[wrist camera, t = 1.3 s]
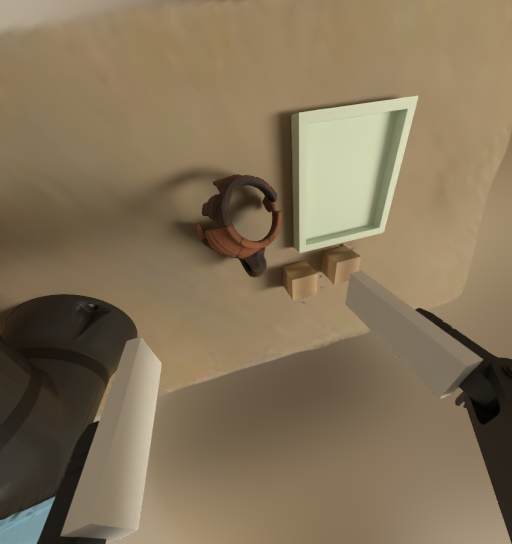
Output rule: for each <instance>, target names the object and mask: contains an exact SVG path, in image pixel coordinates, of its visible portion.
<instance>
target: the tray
mask: <svg viewBox="0 0 512 544" xmlns="http://www.w3.org/2000/svg"><path fill="white" fill-rule="evenodd" d="M417 100H418V96H412V97H405V98H398V99H391V100H384V101H377V102H370V103H363V104H356V105H349V106H342V107H335V108H328V109H320V110H313V111H306V112H299V113H296V114H293V115H291V131H292V178H293V225H294V248H295V249H296V250H297V251H298V252H299V253H302V252H306V251H310V250H314V249H318V248H322V247H326V246H331V245H335V244H339V243H343V242H347V241H351V240H355V239H359V238H363V237H367V236H371V235H375V234H379V233H383V232H384V229H385V225H386V222H387V218H388V214H389V210H390V206H391V202H392V198H393V194H394V190H395V186H396V182H397V178H398V174H399V171H400V167H401V163H402V159H403V155H404V151H405V147H406V143H407V139H408V135H409V131H410V127H411V124H412V120H413V116H414V112H415V108H416V104H417Z"/></svg>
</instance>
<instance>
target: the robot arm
mask: <svg viewBox="0 0 512 544" xmlns="http://www.w3.org/2000/svg"><path fill="white" fill-rule="evenodd" d="M89 304H96V305H97V308H96V307H91V306H89ZM346 305H347V306H348V307H349V308H350V309H351V310H352V311H353V312H354V313H355V314H356V315H357V316H358V317H359V318H360V319H361V320H362V321H363V322H364V323H365V324H366V325H367V326H368V328H369V329H370V330H371V331H372V332H373V333H374V334H375V335H376V336H377V337H378V338H379V339H380V340H381V341H382V342H383V343H384V344H385V345H386V346H387V347H388V348H389V349H390V350H391V351H392V352H393V353H394V354H395V355H396V356H397V357H398V358H399V359H400V360H401V361H402V362H403V363H404V364H405V365H406V366H407V367H408V368H409V369H410V370H411V371H412V372H413V373H414V374H415V375H416V376H417V377H418V378H419V379H420V381H422V383H424V385H425V386H426V387H427V388H428V389H429V390H430V391H431V392H432V393H433V394H434V395H435V396H436V397H437V398H438V399H440V398H443V397H445V396H447V395H450V394H452V393H453V392H454V391H455V390H456V389H457V388H458V387H460V388H461V389H462V390H463V392H462V393H461V394H460V395H459V396H458V397H457V399H456V401H455V402H456V405H457V406H459V405H460V404H461V403H462V402H465V404H464V408H467V410H468V414H469V417H470V420H471V423H472V426H473V429H474V432H475V435H476V438H477V441H478V444H479V447H480V450H481V453H482V456H483V459H484V462H485V465H486V468H487V471H488V474H489V477H490V479H491V483H492V486H493V488H494V492H495V495H496V498H497V501H498V504H499V507H500V510H501V513H502V516H503V519H504V522H505V525H506V528H507V531H508V534H509V537H510V540H511V543H512V359H508V358H498V357H496V356H494V355H492V354H491V353H489V352H488V351H486V350H485V349H483V348H482V347H480V346H479V345H477V344H476V343H474V342H473V341H471V340H470V339H469V338H467V337H466V336H464V335H463V334H461V333H460V332H459V331H457V330H456V329H453V328H452V327H451V326H450V325H448V324H447V323H444V322H443V320H441V319H440V318H438V317H437V316H435V315H434V314H432V313H430V312H428V311H426V310H423V309H421V308H418V309H415V310H414V309H413V308H412V307H410V306H409V305H408V304H406V303H405V302H403V301H402V300H401V299H399V298H398V297H397V296H395V295H394V294H392V293H391V292H390V291H388V290H387V289H386V288H384V287H383V286H381V285H380V284H379V283H377V282H376V281H375V280H373V279H372V278H370V277H369V276H368V275H366V274H365V273H364V272H362V271H361V270H360V271H357V272H353V273H350V278H349V285H348V291H347V298H346ZM161 366H162V364H161V362H160V361H159V360H158V358H157V357H156V356H155V354H154V353H153V352H152V350H151V349H150V348H149V346H148V345H147V344H146V342H145V341H144V340H143V338H142V337H138V338H137V329H136V326H135V324H134V323H133V321H132V320H131V318H130V317H129V316H128V315H127V314H125V313H124V312H123V311H122V310H120V309H118V308H117V307H115V306H113V305H111V304H109V303H107V302H104V301H101V300H98V299H95V298H91V297H86V296H80V295H68V294H61V295H49V296H44V297H39V298H36V299H33V300H30V301H28V302H26V303H24V304H22V305H20V306H19V307H17V308H16V309H15V310H14V311H13V312H12V313H11V315H10V316H9V318H8V319H7V321H6V325H5V328H4V330H3V332H2V334H1V336H0V544H105V543H106V540H117V539H120V538H122V537H124V536H127V535H129V534H131V533H133V532H136V531H138V527H139V521H140V514H141V507H142V499H143V493H144V486H145V479H146V471H147V464H148V457H149V450H150V443H151V436H152V428H153V422H154V414H155V408H156V401H157V394H158V387H159V380H160V373H161ZM116 370H117V371H116ZM115 371H116V374H115V377H114V380H113V383H112V386H111V389H110V392H109V395H108V397H107V400H106V403H105V406H104V409H103V412H102V415H101V418H100V421H97V422H95V423H93V422H94V419H95V416H96V414H97V411H98V408H99V406H100V403H101V400H102V398H103V395H104V392H105V390H106V387H107V384H108V382H109V379H110V377H111V376H112V375H113V374H114V372H115Z"/></svg>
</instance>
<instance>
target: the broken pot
mask: <svg viewBox="0 0 512 544" xmlns="http://www.w3.org/2000/svg"><path fill="white" fill-rule="evenodd" d="M213 184H214V185H215V186H217V188H218V190H219V191H220V194H218V195H214V196H212V197H211V198H210V199H209V201H208V202H206V203H204V204H203V208H202V215H203V216H209V218H211V219H212V220H214V221H215V222H216V223H218V224H219V225H220V226H221V227H219V228H216V229H208V230H206V232H205V236H206V238H207V239H206V238H205V236H204V234H203V232H202V229H201V226H200V224H199V223H196V224H195V229H196V232H197V234H198V235H199V237H200V239H201V240H202V242H203V243H204V244H205V245H206V246H208V247H209V248H211V249H212V250H214V251H215V252H217V253H219V254H221V255H223V256H226V257H230V258H238V259H239V260H240V261H241V264H242V265H243V267H244V269H245V271H246V272H247V273H248V274H249V276H251V277H259V276H261V275H262V274H263V273H264V272H265V270H266V260H265V258H264V251H265V247H266V246H268V245H269V244H270V243H271V242H272V241H273V240H274V239H275V238H276V236H277V235H278V233H279V231H280V227H281V223H282V212H281V211H276V208H275V204H274V202H276V200H277V194H276V192H275V191H274V189H273V188H272V187H271V186H270V185H269V184H268V183H267V182H265V181H264V180H263V179H260V178H258V177H254V176H249V175H247V176H246V175H244V176H242V175H233V176H230V177H227V178H223V179H219V180H217V181H214V182H213ZM244 185H250V186H253V187H256V188H258V189H259V190H260V191H262V192H263V193H264V195H265V197H264V199H263V204H264V206H265V208H266V210H267V211H268V212H272V226H271V229H270V231H269V233H268V235H267V236H266V237H264V239H262V240H260V241H249V240H247V239H245V238H243V237H242V236H241V235H240V234H238V232H237V231H236V230H235V228H234V227H233V225H232V224H231V220H230V216H229V202H230V199H231V196H232V193H233V192H234V191H235V190H236V189H237V188H239V187H241V186H244Z"/></svg>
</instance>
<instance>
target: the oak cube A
mask: <svg viewBox="0 0 512 544" xmlns="http://www.w3.org/2000/svg"><path fill="white" fill-rule="evenodd" d="M317 276H318V273H317V272H316V271H315V270H314V269H313V268H312V267H311V266H310V265H309V264H308V263H307V262H306V261H303V262H299V263H295V264H291V265H287V266H283V281H284V287H285V289H286V290H287V292H288V294H289V295H290V297H291V298H292V300H297V299H300V298H304V297H307V296H311V295H315V294H316V293H317Z"/></svg>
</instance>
